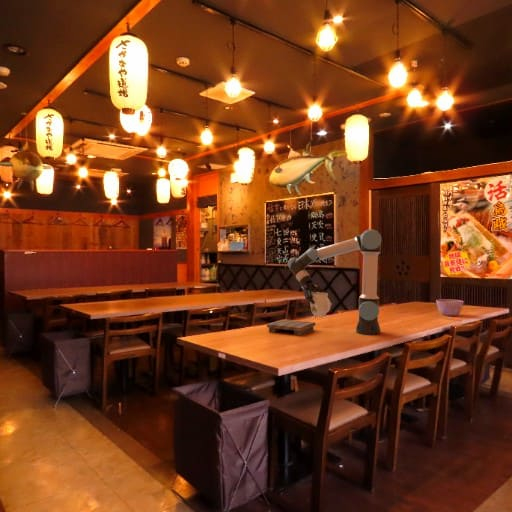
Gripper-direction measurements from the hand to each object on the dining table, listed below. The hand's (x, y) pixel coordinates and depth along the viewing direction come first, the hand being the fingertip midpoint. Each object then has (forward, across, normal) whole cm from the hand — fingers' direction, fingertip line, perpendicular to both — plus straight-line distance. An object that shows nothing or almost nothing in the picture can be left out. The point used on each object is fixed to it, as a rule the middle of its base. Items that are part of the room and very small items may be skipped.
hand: (324, 306), depth 252 cm
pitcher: (+2, 0, -6) cm, 6 cm away
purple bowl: (+23, -138, -4) cm, 140 cm away
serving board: (-8, -4, -35) cm, 36 cm away
